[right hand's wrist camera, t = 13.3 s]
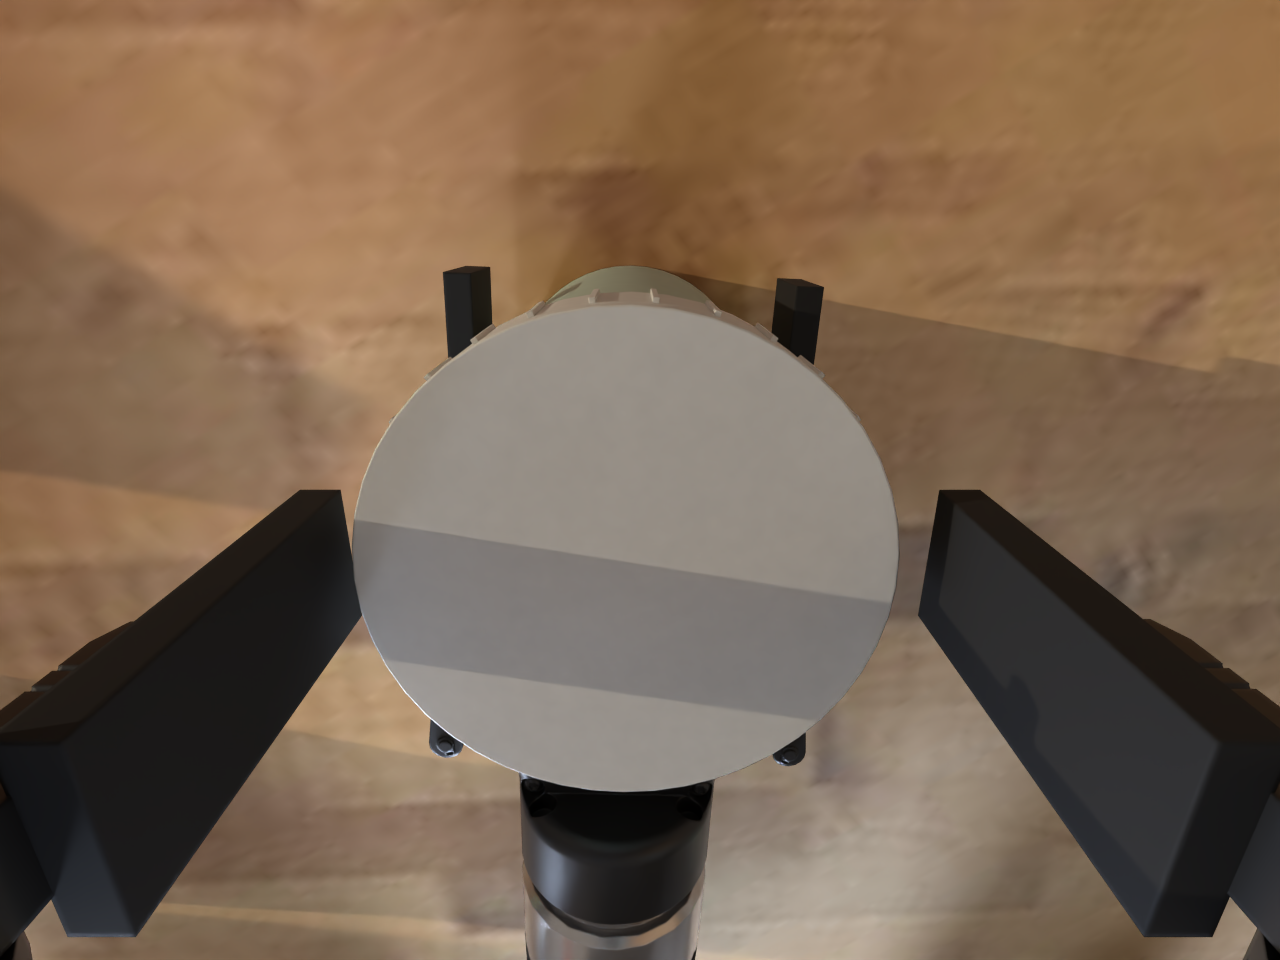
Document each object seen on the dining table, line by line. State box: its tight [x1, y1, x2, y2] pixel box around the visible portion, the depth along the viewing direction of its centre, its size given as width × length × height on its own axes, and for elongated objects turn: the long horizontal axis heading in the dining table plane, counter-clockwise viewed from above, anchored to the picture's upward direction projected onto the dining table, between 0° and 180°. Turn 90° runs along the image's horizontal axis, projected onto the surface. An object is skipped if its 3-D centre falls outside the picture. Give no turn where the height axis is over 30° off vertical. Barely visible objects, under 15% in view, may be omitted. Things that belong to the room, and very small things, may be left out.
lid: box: [352, 288, 899, 792], centre depth 13 cm, size 10×10×2 cm
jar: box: [545, 266, 711, 305], centre depth 20 cm, size 9×9×16 cm
